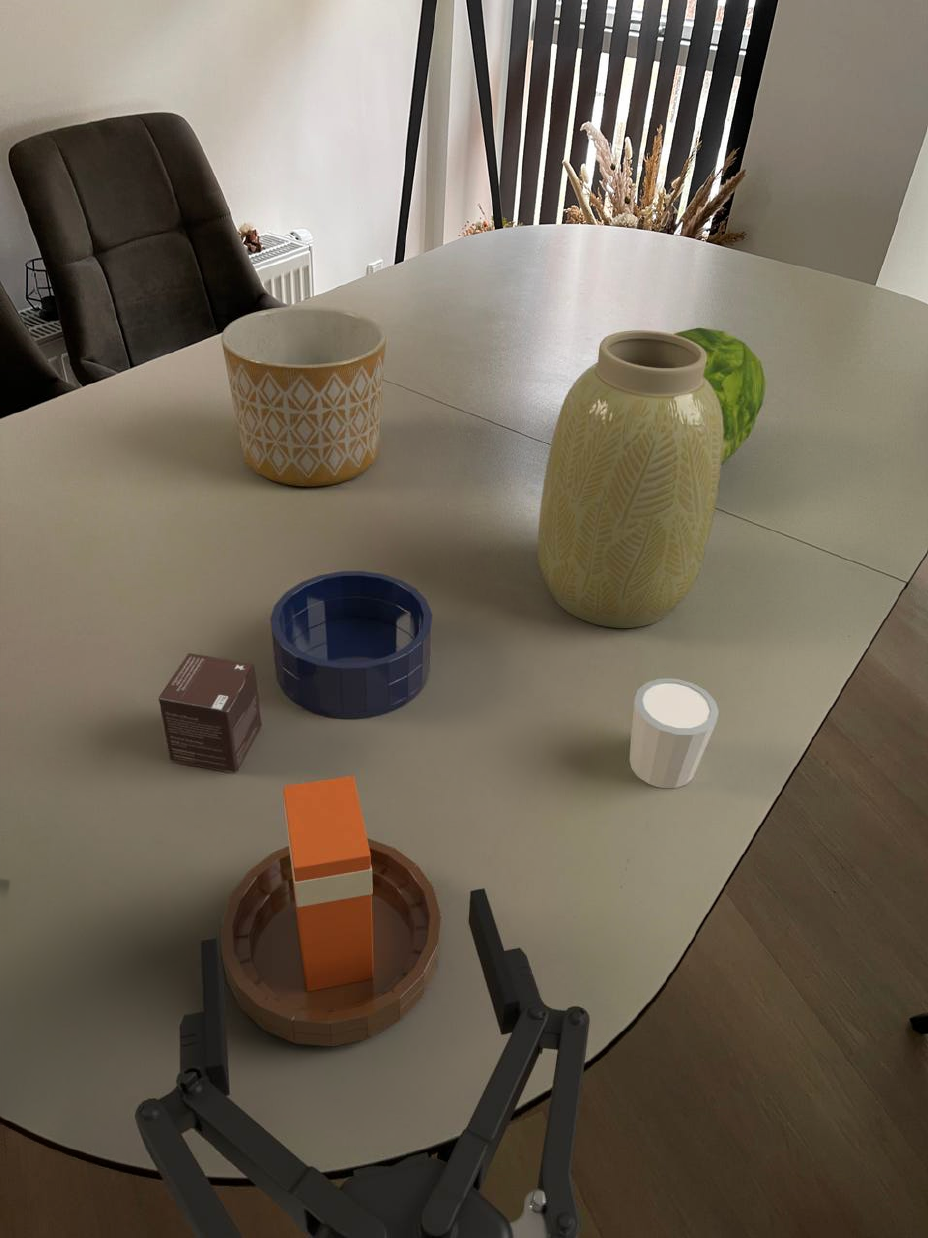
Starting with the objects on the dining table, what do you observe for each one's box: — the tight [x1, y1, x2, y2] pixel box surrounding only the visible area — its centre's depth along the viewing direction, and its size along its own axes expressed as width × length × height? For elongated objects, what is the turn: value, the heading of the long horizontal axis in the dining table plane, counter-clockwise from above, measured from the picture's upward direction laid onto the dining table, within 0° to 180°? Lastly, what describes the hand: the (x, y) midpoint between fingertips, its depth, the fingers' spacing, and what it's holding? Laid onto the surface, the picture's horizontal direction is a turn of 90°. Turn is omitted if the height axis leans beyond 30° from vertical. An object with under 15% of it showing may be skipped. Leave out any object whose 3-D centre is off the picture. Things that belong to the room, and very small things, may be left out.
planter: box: [220, 305, 387, 487], centre depth 118 cm, size 19×19×16 cm
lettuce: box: [672, 327, 767, 466], centre depth 120 cm, size 17×23×16 cm
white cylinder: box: [629, 678, 720, 789], centre depth 80 cm, size 7×7×7 cm
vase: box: [537, 329, 724, 629], centre depth 94 cm, size 17×17×27 cm
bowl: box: [220, 837, 442, 1047], centre depth 65 cm, size 15×15×4 cm
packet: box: [282, 775, 374, 992], centre depth 62 cm, size 5×7×13 cm
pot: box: [269, 570, 433, 720], centre depth 89 cm, size 15×15×6 cm
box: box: [157, 652, 263, 774], centre depth 79 cm, size 6×6×7 cm
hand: (348, 929), depth 49 cm, fingers open, 13 cm apart
